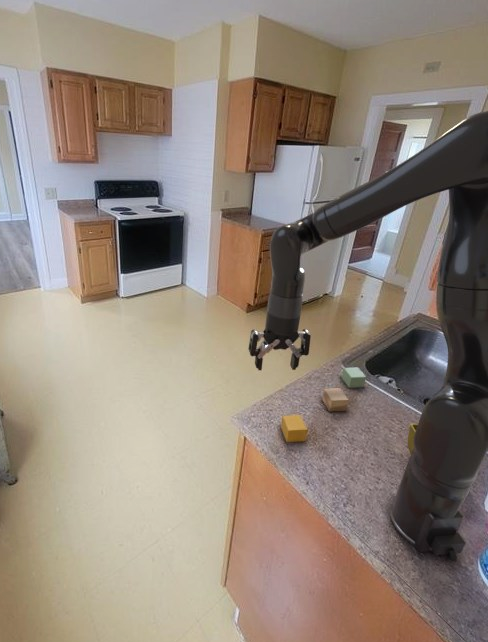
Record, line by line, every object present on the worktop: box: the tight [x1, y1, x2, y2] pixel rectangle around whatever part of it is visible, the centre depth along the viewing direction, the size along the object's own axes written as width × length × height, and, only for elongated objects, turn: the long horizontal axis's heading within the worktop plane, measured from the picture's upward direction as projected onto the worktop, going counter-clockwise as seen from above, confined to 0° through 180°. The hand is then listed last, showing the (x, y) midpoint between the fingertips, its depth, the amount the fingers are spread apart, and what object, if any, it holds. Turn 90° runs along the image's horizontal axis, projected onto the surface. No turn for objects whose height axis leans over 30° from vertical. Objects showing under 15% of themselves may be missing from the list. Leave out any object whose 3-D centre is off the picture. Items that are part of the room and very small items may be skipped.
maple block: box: [321, 387, 349, 412], centre depth 94 cm, size 5×5×4 cm
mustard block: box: [280, 414, 308, 443], centre depth 84 cm, size 5×5×4 cm
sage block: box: [341, 367, 367, 389], centre depth 104 cm, size 5×5×4 cm
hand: (276, 368), depth 80 cm, fingers open, 8 cm apart
